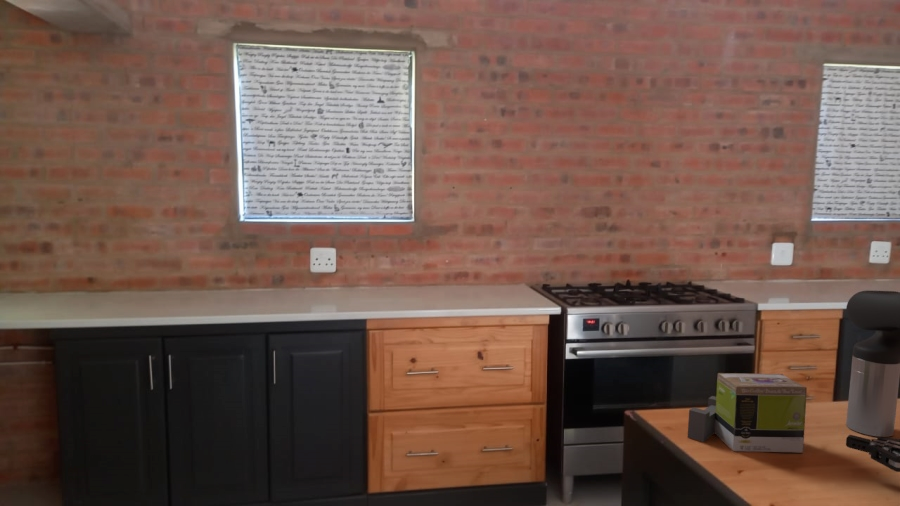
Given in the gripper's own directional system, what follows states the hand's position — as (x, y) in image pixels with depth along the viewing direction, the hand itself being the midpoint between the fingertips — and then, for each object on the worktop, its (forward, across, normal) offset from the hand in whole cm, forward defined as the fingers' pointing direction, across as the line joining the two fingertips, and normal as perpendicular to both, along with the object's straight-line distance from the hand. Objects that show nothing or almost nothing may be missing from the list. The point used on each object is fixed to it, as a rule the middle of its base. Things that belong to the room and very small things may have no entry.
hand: (847, 440), depth 117 cm
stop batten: (+27, 0, +6) cm, 27 cm away
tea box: (+17, -1, +7) cm, 18 cm away
